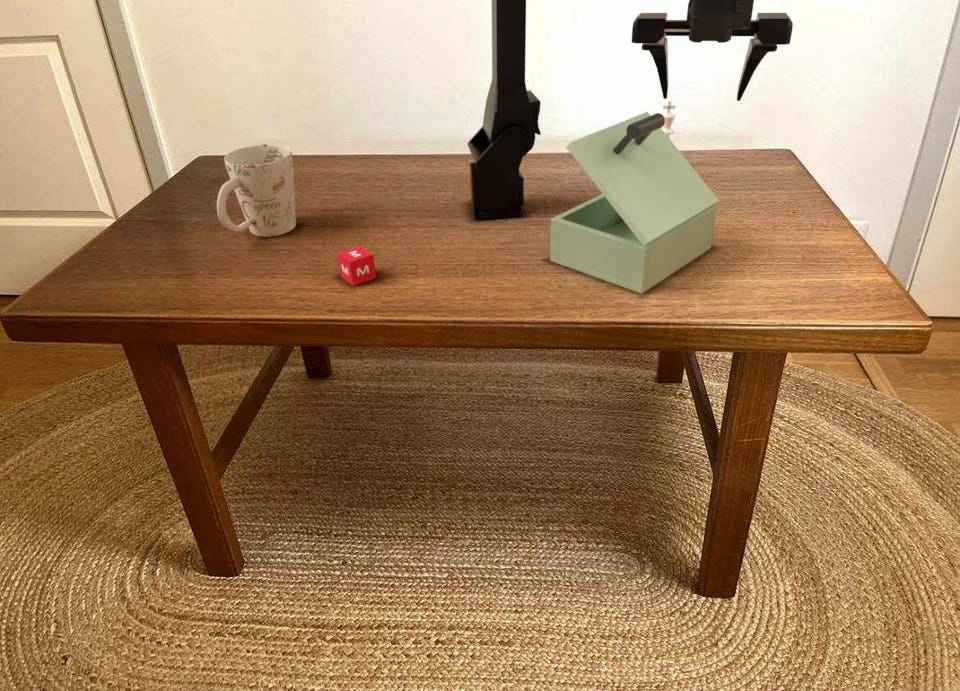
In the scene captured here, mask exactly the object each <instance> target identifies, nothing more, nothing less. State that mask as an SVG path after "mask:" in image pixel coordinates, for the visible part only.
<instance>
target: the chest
mask: <svg viewBox="0 0 960 691" xmlns="http://www.w3.org/2000/svg"><path fill="white" fill-rule="evenodd" d="M716 214H717V205H713V206H712V207H710V208H708V209H707V210H705V211H703V212H702V213H700V214H698V215H697V216H695V217H693V218H692V219H690V220H688V221H686V222H685V223H683V224H681V225H680V226H678V227H676V228H675V229H673V230H671V231H670V232H668V233H666V234H665V235H663V236H661V237H660V238H658V239H656V240H654V241H653V242H651V243H649V244H648V245H646V246H643V245H642V243H641V242H640V241H639V239H638V238H637V237H636V236H635V234H634V233H633V232H632V231H631V229H630V228H629V227H628V225H627V224H626V223H625V222H624V220H623V219H622V218H621V217H620V215H619V214H618V213H617V211H616V210H615V209H614V208H613V206H612V205H611V204H610V202H609V201H608V200H607V199H606V197H605V196H604V195H603V194H602V193H601V194H599V195H596V196H595V197H593V198H591V199H589V200H586V201H585V202H582V203H581V204H578V205H576V206H574V207H572V208H570V209H568V210H566V211H564V212H562V213H560V214H558V215H556V216H554V217H552V218H550V251H549V252H550V254H549V256H550V257H549V258H550V262H553V263H555V264H558V265H561V266H564V267H567V268H569V269H571V270H574V271H578V272H580V273H583V274H586V275H588V276H591V277H595V278H597V279H599V280H601V281H605V282H607V283H610V284H613V285H616V286H619V287H621V288H625V289H627V290H631V291H633V292H636V293H639V294H641V295H642V294H644V293H645V292H647V291H648V290H650V289H651V288H653V287H654V286H656V285H657V284H659V283H660V282H662V281H664V280H665V279H667V278H668V277H669V276H671V275H672V274H674V273H675V272H677V271H679V270H680V269H681V268H683V267H685V266H686V265H687V264H689V263H691V262H692V261H693V260H695V259H697V258H698V257H700V256H701V255H703V254H704V253H706V252H707V251H709V250H711V249H712V248H711V246H712V242H713V234H714V227H715V220H716Z"/></svg>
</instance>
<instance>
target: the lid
mask: <svg viewBox="0 0 960 691" xmlns="http://www.w3.org/2000/svg"><path fill="white" fill-rule="evenodd" d="M662 114H663V113H659V112H656V113H654V114H650V113H649V111H646V112H643V113H641V114H638V115H636V116H633V117H630V118H628V119H625V120H623V121H621V122H618V123H615V124H613V125H611V126H608V127H605V128H603V129H601V130H598V131H596V132H593V133H590V134H588V135H585V136H583V137H580V138H577V139H575V140H573V141H570V142H569V143H568V144H567V145H566V146H565V147H566V150H568V152H569V153H570V154H571V155H572V157H573V158H574V160H576V162H577V163H578V164H579V166H580V167H581V168H582V169H583V171H584V172H585V173H586V175H587V176H588V177H589V178H590V180H591V181H592V183H594V185H595V186H596V187H597V188H598V190H599V191H600V193H601V194H603V195H604V196H605V197H606V199H607V200H608V201H609V202H610V204H611V205H612V206H613V208H614V209H615V210H616V211H617V213H618V214H619V215H620V217H621V218H622V219H623V220H624V222H625V223H626V224H627V225H628V227H629V228H630V229H631V231H632V232H633V233H634V234H635V236H636V237H637V238H638V239H639V241H640V242H641V243H642V245H643V246H646V245H648V244H649V243H651V242H653V241H654V240H656V239H658V238H660V237H661V236H663V235H665V234H666V233H668V232H670V231H671V230H673V229H675V228H676V227H678V226H680V225H681V224H683V223H685V222H686V221H688V220H690V219H692V218H693V217H695V216H697V215H698V214H700V213H702V212H703V211H705V210H707V209H708V208H710V207H712V206H716V205H717V204H718V203H719V202H720V199H719V198H718V197H717V195H716V194H715V192H713V190H711V188H710V187H709V186H708V185H707V183H706V182H705V181H704V180H703V178H702V177H701V176H700V175H699V173H698V172H697V170H696V169H694V168H693V166H692V165H691V163H690V162H689V160H687V158H686V157H685V156H684V155H683V154H682V152H681V151H680V150H679V149H678V147H677V146H676V145H675V144H674V143H673V141H672V140H671V139H669V138H668V137H667V135H666V134H665V133H664V132H663V130H662V129H663V128H664V127H663V126H664V124H665V118H664V116H663V115H662Z"/></svg>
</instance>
